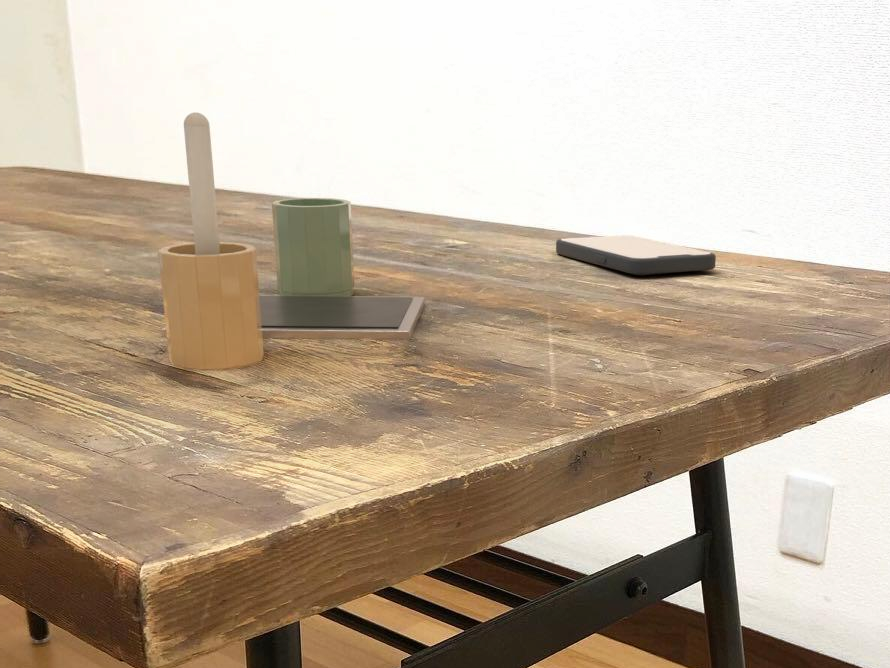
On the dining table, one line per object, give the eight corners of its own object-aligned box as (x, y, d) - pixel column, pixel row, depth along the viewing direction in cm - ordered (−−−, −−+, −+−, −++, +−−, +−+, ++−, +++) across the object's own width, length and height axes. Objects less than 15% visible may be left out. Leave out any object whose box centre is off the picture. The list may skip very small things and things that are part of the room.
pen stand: (159, 377, 72) (146, 255, 69) (184, 355, 77) (173, 241, 74) (252, 378, 72) (243, 256, 69) (271, 356, 77) (263, 242, 74)
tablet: (162, 343, 80) (160, 327, 79) (208, 308, 91) (206, 293, 91) (409, 346, 80) (409, 329, 80) (425, 310, 91) (424, 295, 91)
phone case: (550, 255, 118) (633, 279, 104) (550, 238, 117) (634, 259, 104) (631, 251, 121) (721, 272, 108) (631, 234, 121) (722, 254, 107)
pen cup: (272, 300, 94) (265, 206, 91) (286, 287, 99) (280, 197, 97) (348, 301, 94) (343, 207, 91) (358, 287, 99) (354, 198, 97)
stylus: (202, 361, 73) (179, 112, 68) (208, 355, 75) (186, 111, 70) (225, 361, 74) (204, 113, 68) (231, 356, 75) (211, 112, 70)
